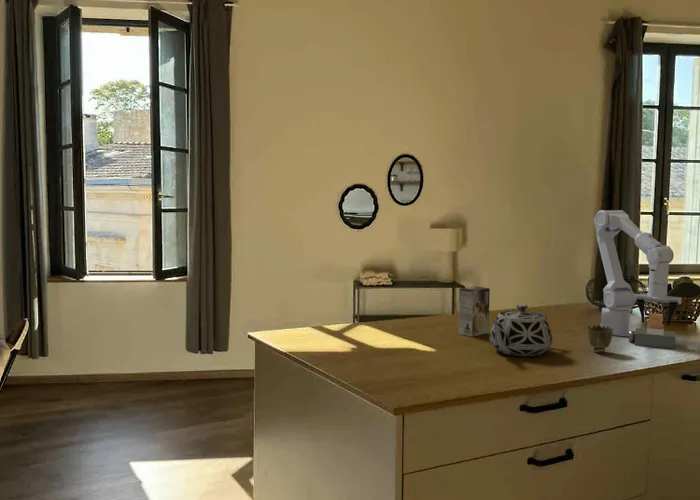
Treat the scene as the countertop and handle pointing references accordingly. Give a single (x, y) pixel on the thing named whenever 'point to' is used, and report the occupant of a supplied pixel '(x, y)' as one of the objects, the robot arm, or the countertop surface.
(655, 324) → the tan single stud brick
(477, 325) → the coffee box
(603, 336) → the cup
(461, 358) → the countertop surface
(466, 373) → the countertop surface
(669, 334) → the grey plate with rails
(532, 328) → the patterned lidded jar
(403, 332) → the countertop surface
